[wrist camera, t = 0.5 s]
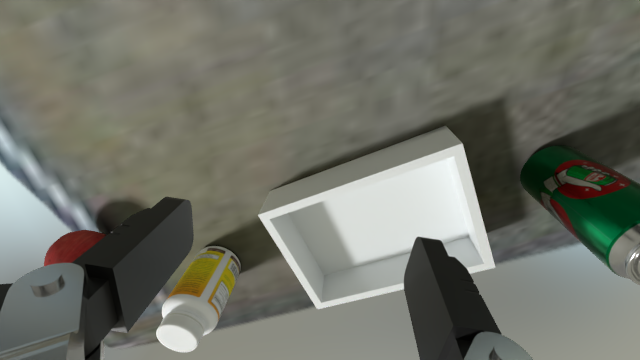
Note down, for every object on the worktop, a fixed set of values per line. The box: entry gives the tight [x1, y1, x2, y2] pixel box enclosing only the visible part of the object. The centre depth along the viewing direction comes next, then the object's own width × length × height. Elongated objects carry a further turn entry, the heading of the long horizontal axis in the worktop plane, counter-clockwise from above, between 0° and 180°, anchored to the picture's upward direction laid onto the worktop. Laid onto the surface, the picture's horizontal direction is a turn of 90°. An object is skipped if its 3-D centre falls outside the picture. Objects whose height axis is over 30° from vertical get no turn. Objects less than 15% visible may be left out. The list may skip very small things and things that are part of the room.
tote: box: [258, 126, 495, 309], centre depth 29 cm, size 13×18×4 cm
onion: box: [44, 230, 106, 266], centre depth 33 cm, size 6×6×8 cm
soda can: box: [520, 145, 640, 285], centre depth 22 cm, size 5×5×12 cm
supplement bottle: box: [156, 246, 241, 352], centre depth 32 cm, size 6×6×10 cm
